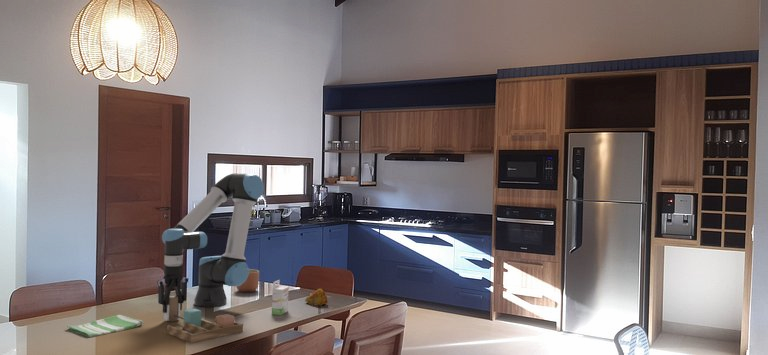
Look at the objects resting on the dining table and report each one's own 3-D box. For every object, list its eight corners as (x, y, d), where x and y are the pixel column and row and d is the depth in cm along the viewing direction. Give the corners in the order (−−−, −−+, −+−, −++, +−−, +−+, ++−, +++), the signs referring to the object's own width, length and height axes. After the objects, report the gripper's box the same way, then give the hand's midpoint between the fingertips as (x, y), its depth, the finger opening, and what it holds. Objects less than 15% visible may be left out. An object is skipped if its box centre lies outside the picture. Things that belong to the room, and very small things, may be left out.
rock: (308, 313, 289) (301, 296, 294) (320, 313, 295) (313, 297, 300) (322, 300, 284) (314, 283, 290) (334, 300, 291) (326, 284, 296)
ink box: (281, 315, 267) (282, 282, 267) (271, 314, 268) (272, 282, 268) (288, 311, 275) (289, 279, 275) (278, 310, 276) (279, 279, 276)
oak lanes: (166, 333, 232) (167, 325, 232) (217, 323, 250) (217, 316, 249) (191, 342, 220) (191, 334, 220) (242, 331, 238) (242, 324, 238)
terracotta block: (216, 330, 238) (216, 316, 238) (226, 328, 242) (227, 314, 242) (223, 333, 235) (223, 318, 235) (234, 330, 239) (234, 316, 239)
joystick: (163, 320, 251) (164, 297, 251) (174, 318, 255) (175, 295, 255) (189, 329, 238) (190, 305, 238) (200, 327, 241) (201, 303, 241)
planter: (235, 289, 322) (235, 269, 322) (258, 288, 325) (258, 269, 325) (235, 293, 310) (235, 273, 310) (259, 293, 313) (259, 272, 313)
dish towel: (65, 330, 233) (65, 323, 233) (121, 319, 252) (121, 313, 252) (88, 339, 223) (88, 332, 223) (144, 327, 242) (145, 320, 242)
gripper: (159, 268, 242) (157, 324, 243) (196, 263, 256) (195, 317, 256) (149, 265, 247) (148, 320, 247) (187, 261, 261) (185, 314, 261)
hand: (172, 318), depth 252 cm, fingers closed on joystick, 4 cm apart
